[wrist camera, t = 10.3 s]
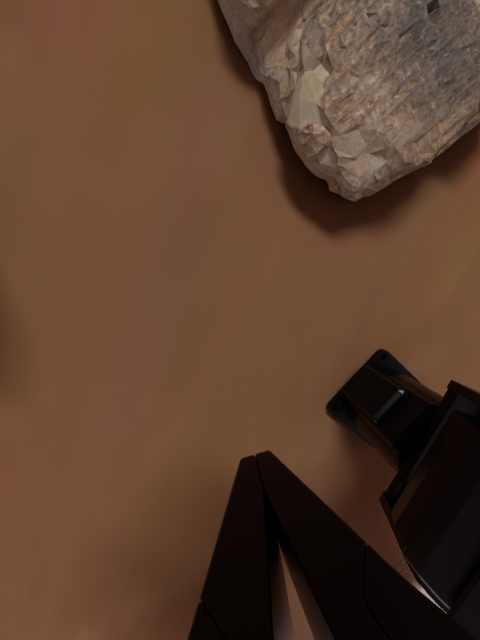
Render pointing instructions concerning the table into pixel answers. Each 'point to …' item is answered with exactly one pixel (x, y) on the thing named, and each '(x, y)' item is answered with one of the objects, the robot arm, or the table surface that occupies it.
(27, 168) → the table surface
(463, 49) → the flat grey rock
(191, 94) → the table surface
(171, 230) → the table surface
